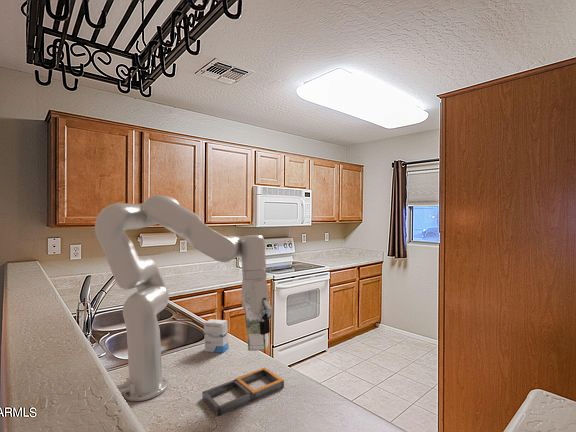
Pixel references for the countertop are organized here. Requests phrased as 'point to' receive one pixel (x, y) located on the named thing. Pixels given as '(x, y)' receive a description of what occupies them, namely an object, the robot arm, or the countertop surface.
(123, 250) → the robot arm
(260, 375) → the grey flat frame
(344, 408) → the countertop surface
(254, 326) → the syrup box
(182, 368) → the countertop surface
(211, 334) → the ink box
